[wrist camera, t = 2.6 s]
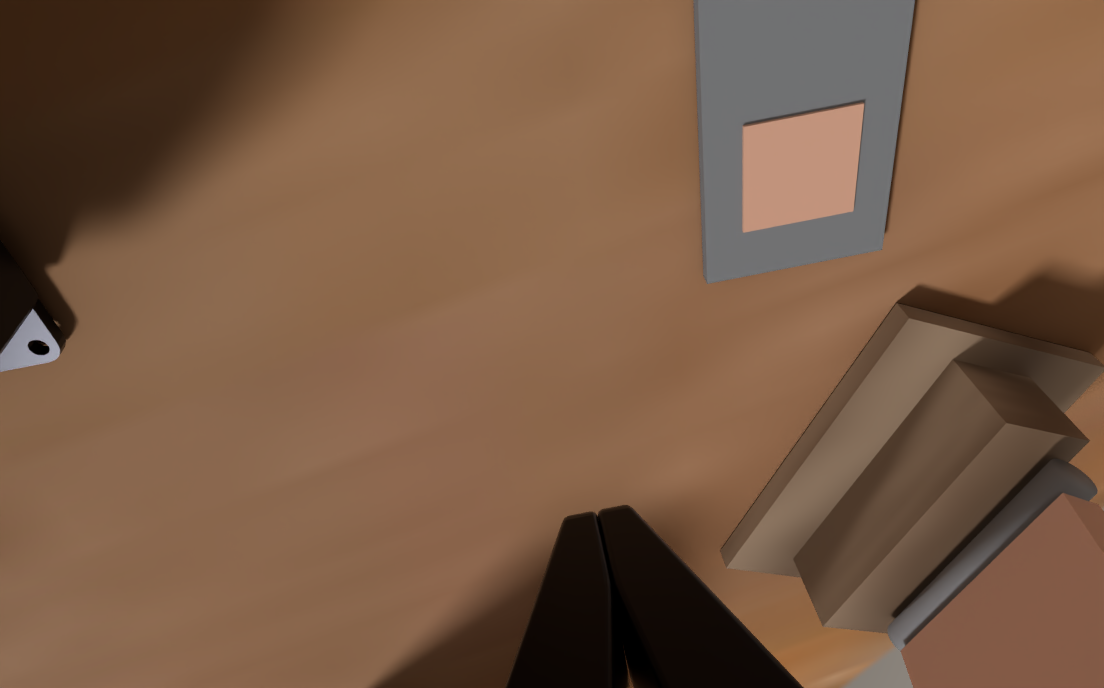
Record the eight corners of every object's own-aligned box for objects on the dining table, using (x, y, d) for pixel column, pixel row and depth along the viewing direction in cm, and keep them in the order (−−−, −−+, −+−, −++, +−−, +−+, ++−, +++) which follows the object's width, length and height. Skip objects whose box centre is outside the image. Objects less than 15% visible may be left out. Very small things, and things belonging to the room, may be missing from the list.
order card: (703, 275, 22) (708, 285, 22) (684, -247, 15) (691, -247, 14) (875, 242, 22) (883, 251, 22) (943, -297, 15) (956, -298, 14)
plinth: (720, 551, 30) (750, 637, 27) (896, 303, 24) (961, 381, 21) (888, 573, 33) (932, 654, 30) (1090, 352, 26) (1172, 429, 23)
